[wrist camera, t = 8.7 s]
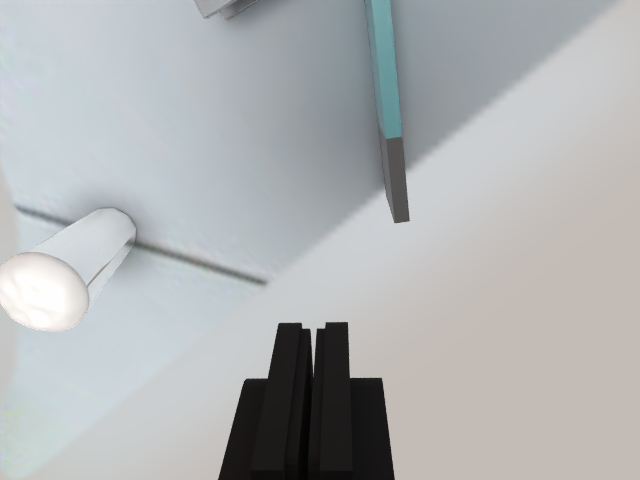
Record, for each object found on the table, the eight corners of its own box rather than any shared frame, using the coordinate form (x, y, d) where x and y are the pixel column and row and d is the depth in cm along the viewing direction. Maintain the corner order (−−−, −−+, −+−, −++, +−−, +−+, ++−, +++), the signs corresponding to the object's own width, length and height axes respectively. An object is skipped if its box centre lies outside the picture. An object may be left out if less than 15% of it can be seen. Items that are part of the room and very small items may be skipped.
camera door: (356, -56, 23) (361, -73, 19) (376, -59, 23) (385, -78, 19) (384, 195, 28) (392, 223, 24) (400, 193, 28) (411, 221, 24)
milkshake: (58, 199, 29) (-65, 275, 20) (138, 196, 29) (50, 272, 20) (77, 261, 31) (-28, 355, 22) (153, 258, 31) (78, 353, 22)
